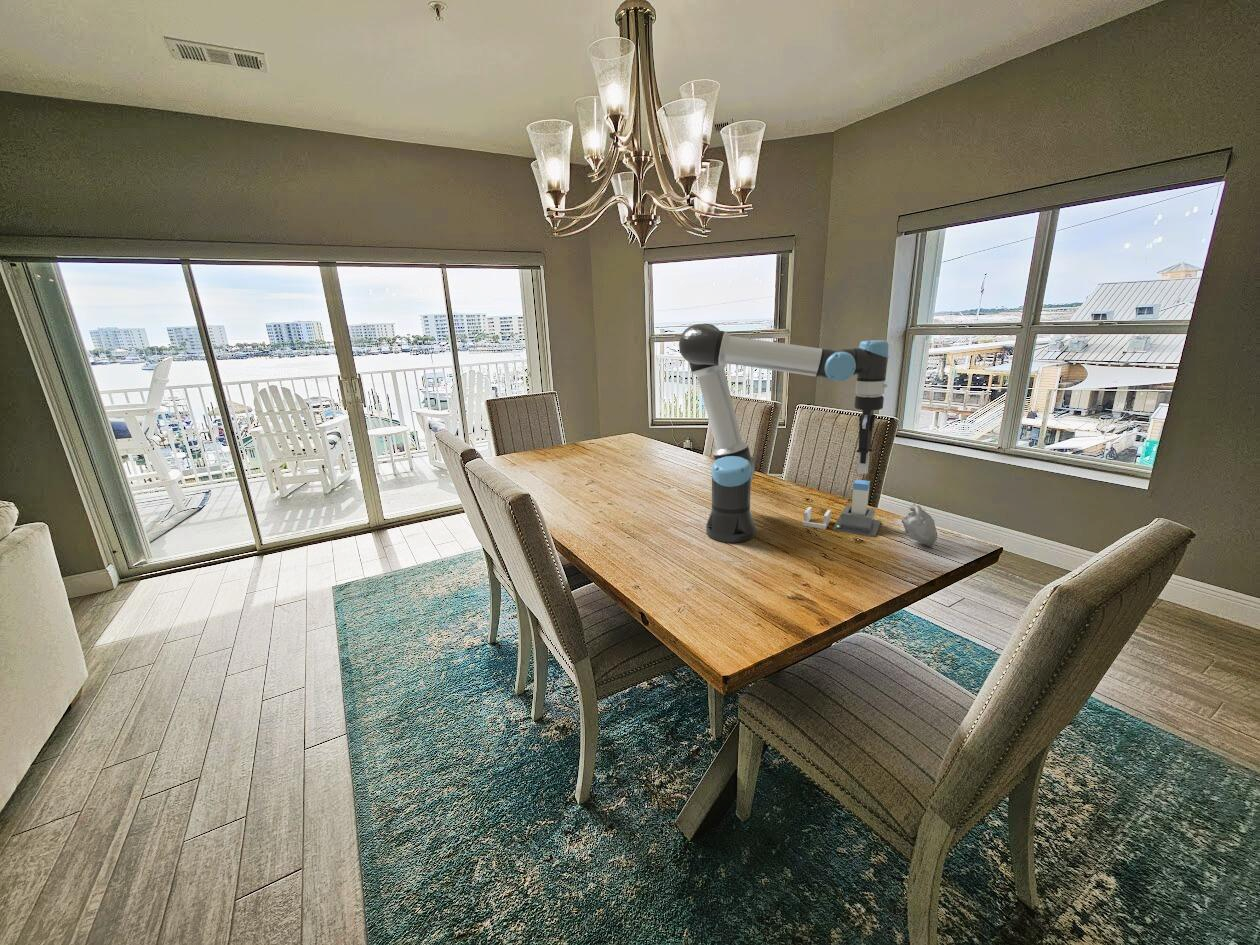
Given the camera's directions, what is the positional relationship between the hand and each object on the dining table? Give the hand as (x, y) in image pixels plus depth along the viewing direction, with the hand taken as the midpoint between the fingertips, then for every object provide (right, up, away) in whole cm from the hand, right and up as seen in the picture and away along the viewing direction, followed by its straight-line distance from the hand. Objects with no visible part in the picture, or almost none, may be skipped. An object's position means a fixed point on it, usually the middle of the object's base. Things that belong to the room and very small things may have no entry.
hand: (862, 472), depth 146 cm
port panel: (+1, -17, +5) cm, 18 cm away
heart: (+12, -21, -10) cm, 26 cm away
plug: (+1, -16, +5) cm, 17 cm away
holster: (-11, -16, +9) cm, 21 cm away
